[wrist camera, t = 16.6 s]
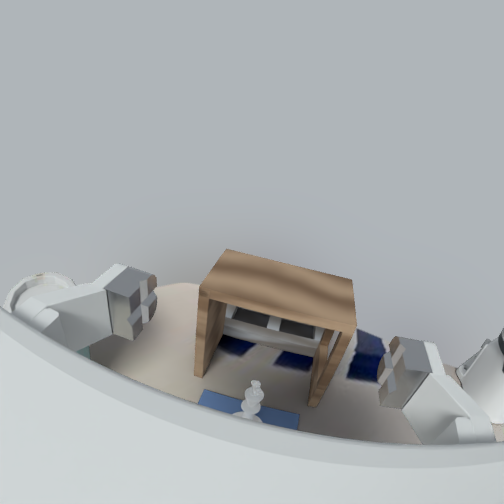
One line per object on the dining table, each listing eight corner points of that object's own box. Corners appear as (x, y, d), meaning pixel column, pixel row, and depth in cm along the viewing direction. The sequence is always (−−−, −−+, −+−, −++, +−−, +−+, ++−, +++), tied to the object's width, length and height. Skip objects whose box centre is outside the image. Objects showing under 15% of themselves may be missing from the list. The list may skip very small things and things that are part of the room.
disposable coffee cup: (114, 407, 32) (91, 319, 25) (39, 421, 26) (-8, 335, 20) (96, 350, 40) (80, 263, 33) (32, 362, 34) (2, 275, 27)
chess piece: (231, 450, 30) (243, 407, 25) (218, 418, 34) (225, 369, 29) (270, 440, 32) (290, 395, 27) (254, 409, 36) (269, 360, 31)
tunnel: (316, 407, 38) (356, 325, 31) (193, 375, 40) (199, 286, 33) (322, 324, 54) (348, 251, 48) (231, 301, 57) (242, 226, 50)
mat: (288, 472, 28) (289, 472, 28) (180, 443, 30) (179, 442, 30) (298, 415, 36) (299, 414, 36) (204, 390, 38) (204, 389, 38)
